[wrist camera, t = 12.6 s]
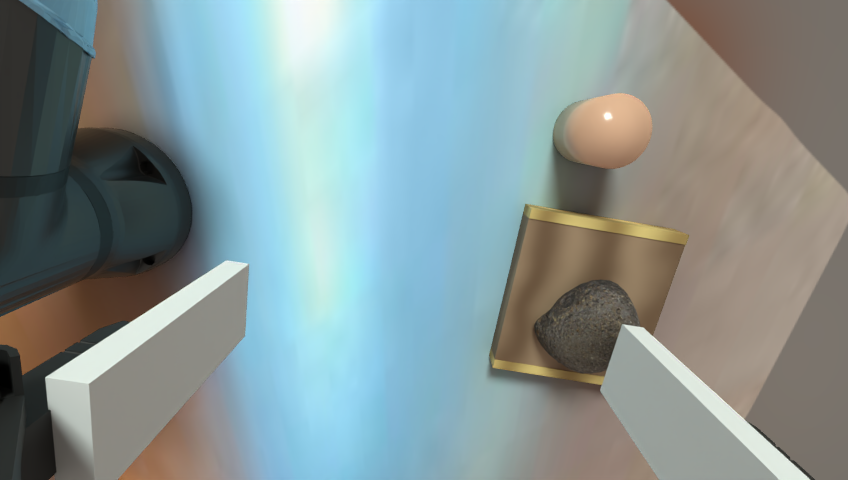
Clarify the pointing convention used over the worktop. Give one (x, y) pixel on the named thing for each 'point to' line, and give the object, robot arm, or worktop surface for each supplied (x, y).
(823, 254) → the worktop surface
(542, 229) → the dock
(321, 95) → the worktop surface
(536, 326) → the stone
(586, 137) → the peach rounded capsule
